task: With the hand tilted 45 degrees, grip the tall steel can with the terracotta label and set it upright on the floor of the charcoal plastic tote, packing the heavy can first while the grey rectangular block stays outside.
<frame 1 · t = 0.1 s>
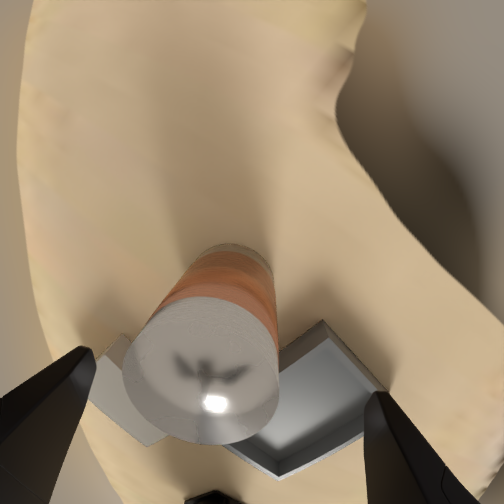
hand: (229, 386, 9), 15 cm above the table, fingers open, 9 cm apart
tote: (297, 403, 27), on the table
grey rectangular block: (141, 381, 28), on the table
steel can: (230, 286, 25), on the table
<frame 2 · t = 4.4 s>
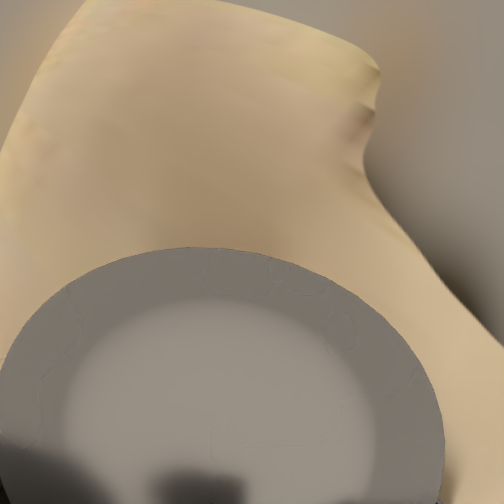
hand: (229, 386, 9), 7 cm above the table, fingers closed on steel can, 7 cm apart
steel can: (232, 386, 15), on the table, touching gripper
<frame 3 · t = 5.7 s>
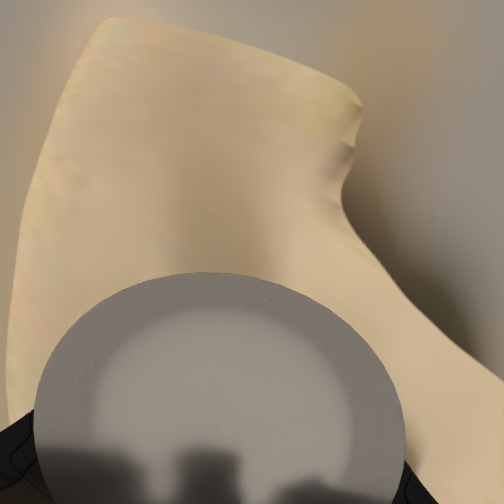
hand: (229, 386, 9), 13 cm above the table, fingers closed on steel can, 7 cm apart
steel can: (233, 382, 17), point 4 cm above the table, touching gripper
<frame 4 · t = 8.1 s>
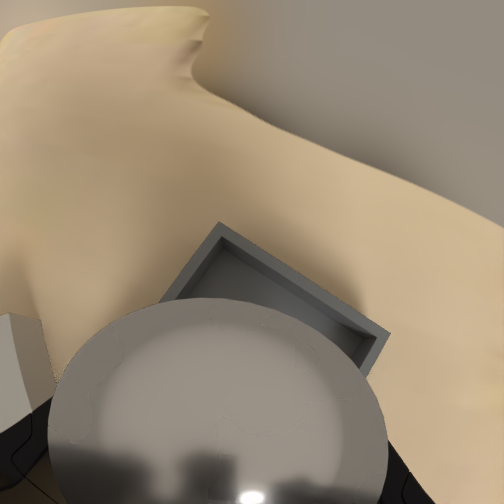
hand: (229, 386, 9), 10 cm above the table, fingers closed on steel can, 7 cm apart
tote: (232, 384, 18), on the table
grey rectangular block: (28, 390, 17), on the table
steel can: (231, 390, 17), point 1 cm above the table, touching gripper, tote
when the fingers open (10 cm above the table, at t = 8.4 s): steel can stays where it is, resting on tote.
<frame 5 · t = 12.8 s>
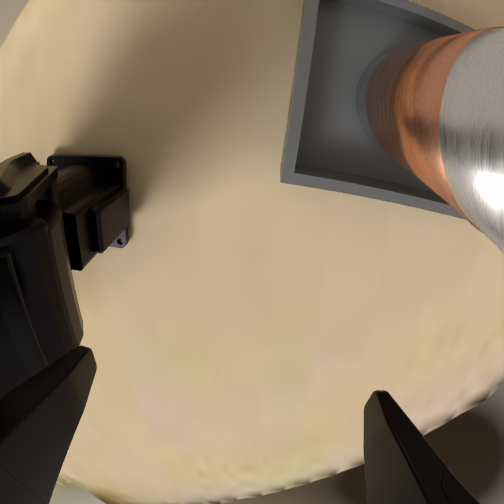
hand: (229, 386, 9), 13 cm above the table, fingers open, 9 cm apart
tote: (407, 103, 16), on the table
steel can: (409, 104, 15), point 1 cm above the table, touching tote
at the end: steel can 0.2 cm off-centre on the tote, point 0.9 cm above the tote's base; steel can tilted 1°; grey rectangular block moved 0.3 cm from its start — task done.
